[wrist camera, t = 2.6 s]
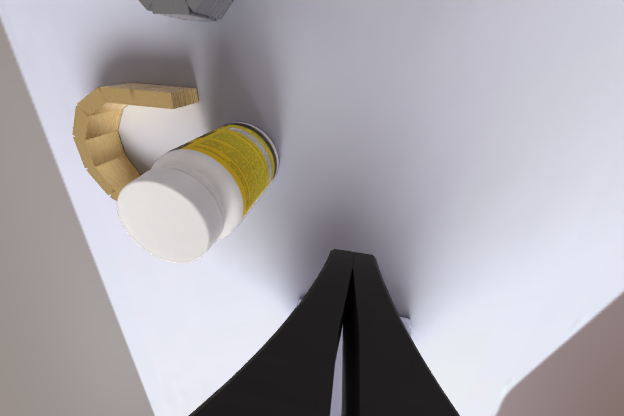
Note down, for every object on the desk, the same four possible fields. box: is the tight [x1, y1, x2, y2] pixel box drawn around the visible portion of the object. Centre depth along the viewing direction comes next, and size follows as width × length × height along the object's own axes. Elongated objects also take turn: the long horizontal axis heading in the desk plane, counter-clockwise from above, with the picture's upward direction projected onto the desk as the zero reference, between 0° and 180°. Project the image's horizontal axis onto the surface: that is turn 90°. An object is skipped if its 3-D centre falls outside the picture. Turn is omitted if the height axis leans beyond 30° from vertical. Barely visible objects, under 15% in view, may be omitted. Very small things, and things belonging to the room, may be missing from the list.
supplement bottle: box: [117, 122, 279, 263], centre depth 14 cm, size 5×5×8 cm
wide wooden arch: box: [73, 83, 199, 201], centre depth 18 cm, size 7×8×2 cm
